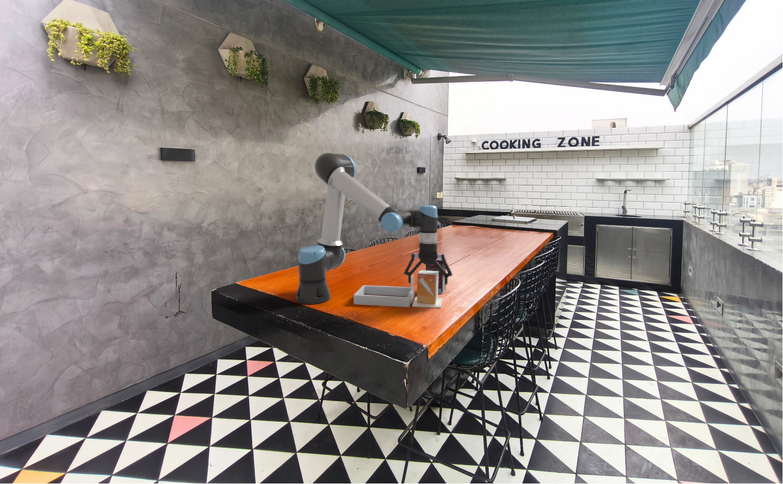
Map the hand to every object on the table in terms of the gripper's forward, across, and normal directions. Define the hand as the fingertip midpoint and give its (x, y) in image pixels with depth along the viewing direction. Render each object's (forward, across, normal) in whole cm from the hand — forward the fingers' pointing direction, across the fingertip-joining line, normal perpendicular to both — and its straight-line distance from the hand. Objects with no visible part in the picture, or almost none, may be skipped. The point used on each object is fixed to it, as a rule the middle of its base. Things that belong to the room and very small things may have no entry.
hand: (427, 291), depth 165 cm
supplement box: (+5, +2, +18) cm, 19 cm away
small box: (+5, 0, 0) cm, 5 cm away
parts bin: (+5, -19, +1) cm, 20 cm away
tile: (+5, 0, 0) cm, 5 cm away
